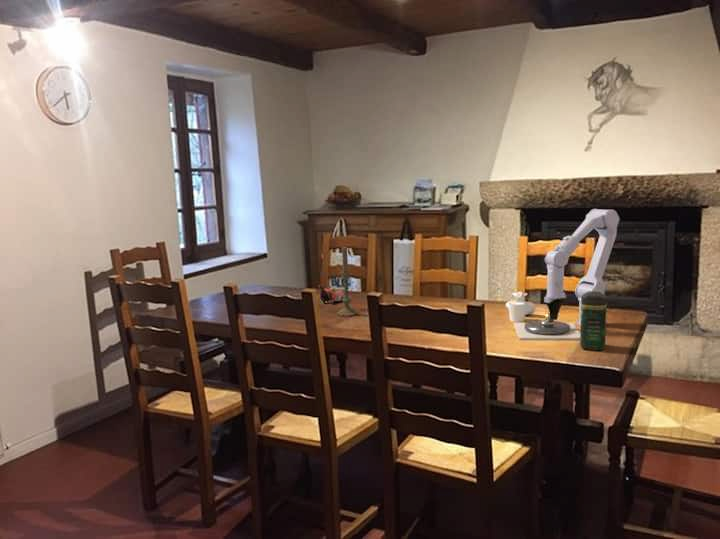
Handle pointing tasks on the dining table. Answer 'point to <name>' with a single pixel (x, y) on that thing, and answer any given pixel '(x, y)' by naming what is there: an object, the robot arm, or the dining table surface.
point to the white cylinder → (517, 311)
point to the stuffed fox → (330, 294)
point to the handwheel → (547, 326)
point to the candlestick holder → (345, 284)
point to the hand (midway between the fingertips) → (554, 319)
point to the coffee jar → (593, 321)
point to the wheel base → (526, 335)
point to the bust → (520, 298)
